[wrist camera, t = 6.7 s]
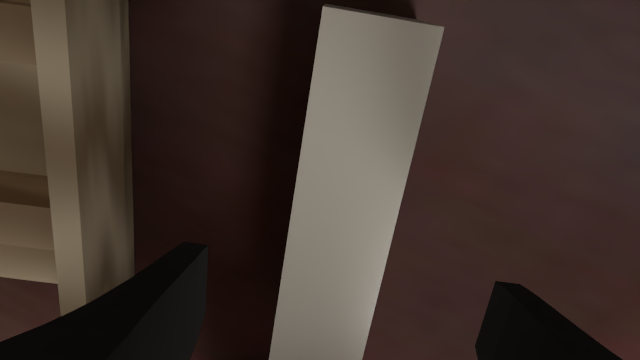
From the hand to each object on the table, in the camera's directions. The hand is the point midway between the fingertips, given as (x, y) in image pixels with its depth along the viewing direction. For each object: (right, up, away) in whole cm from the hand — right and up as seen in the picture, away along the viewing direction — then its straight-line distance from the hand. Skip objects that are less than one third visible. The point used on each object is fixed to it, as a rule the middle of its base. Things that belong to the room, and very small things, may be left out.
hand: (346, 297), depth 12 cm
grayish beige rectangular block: (0, +3, +9) cm, 9 cm away
